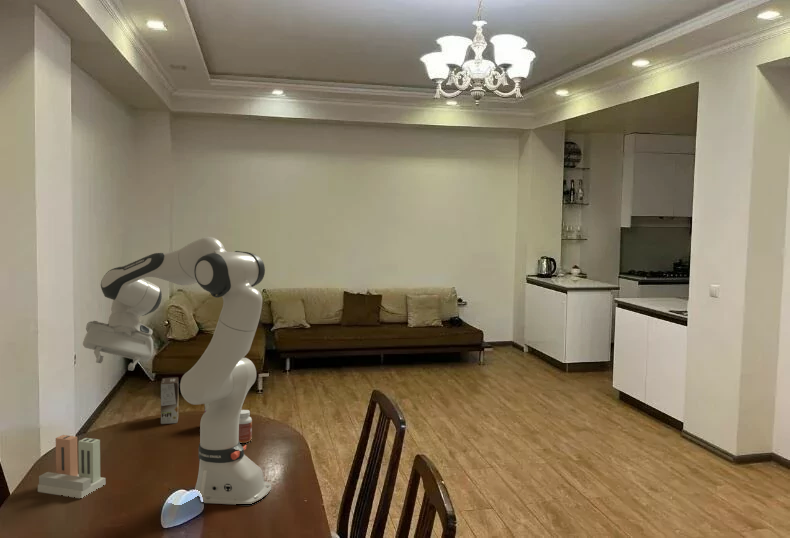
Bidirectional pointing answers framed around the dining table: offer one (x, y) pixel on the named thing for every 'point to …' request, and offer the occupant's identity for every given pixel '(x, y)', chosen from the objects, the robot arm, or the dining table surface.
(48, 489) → the tile board
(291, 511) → the dining table surface
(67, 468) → the orange-brown upright block
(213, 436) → the robot arm
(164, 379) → the coffee box
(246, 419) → the pill bottle
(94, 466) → the pale green tall block
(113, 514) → the dining table surface
